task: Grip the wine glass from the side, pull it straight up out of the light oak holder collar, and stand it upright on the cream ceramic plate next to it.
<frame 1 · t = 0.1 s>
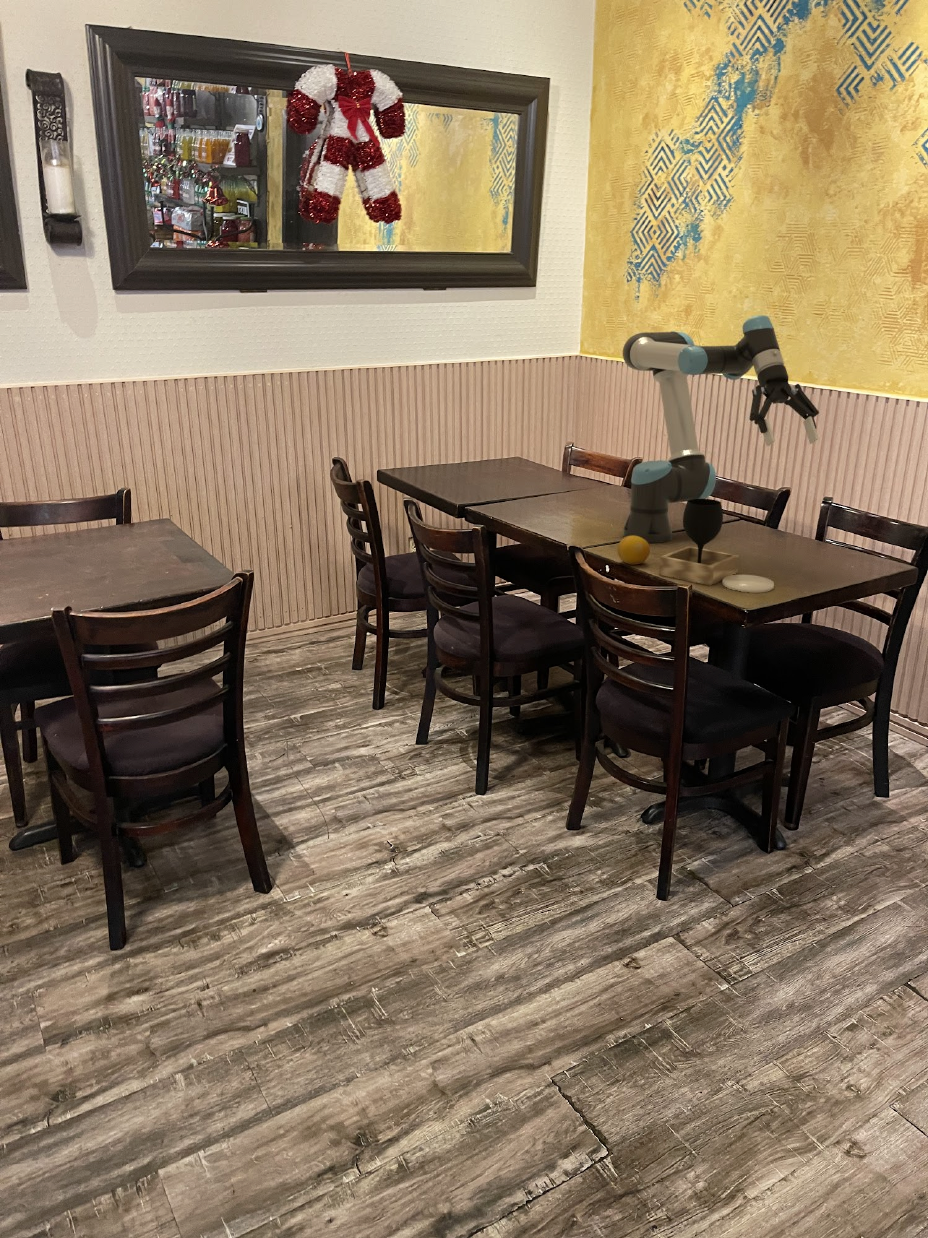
hand: (792, 442, 248), 36 cm above the table, tool tilted 35°, fingers open, 13 cm apart
plate: (747, 585, 249), on the table
wine glass: (698, 574, 260), resting in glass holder
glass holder: (698, 573, 260), on the table
fruit: (632, 564, 269), on the table
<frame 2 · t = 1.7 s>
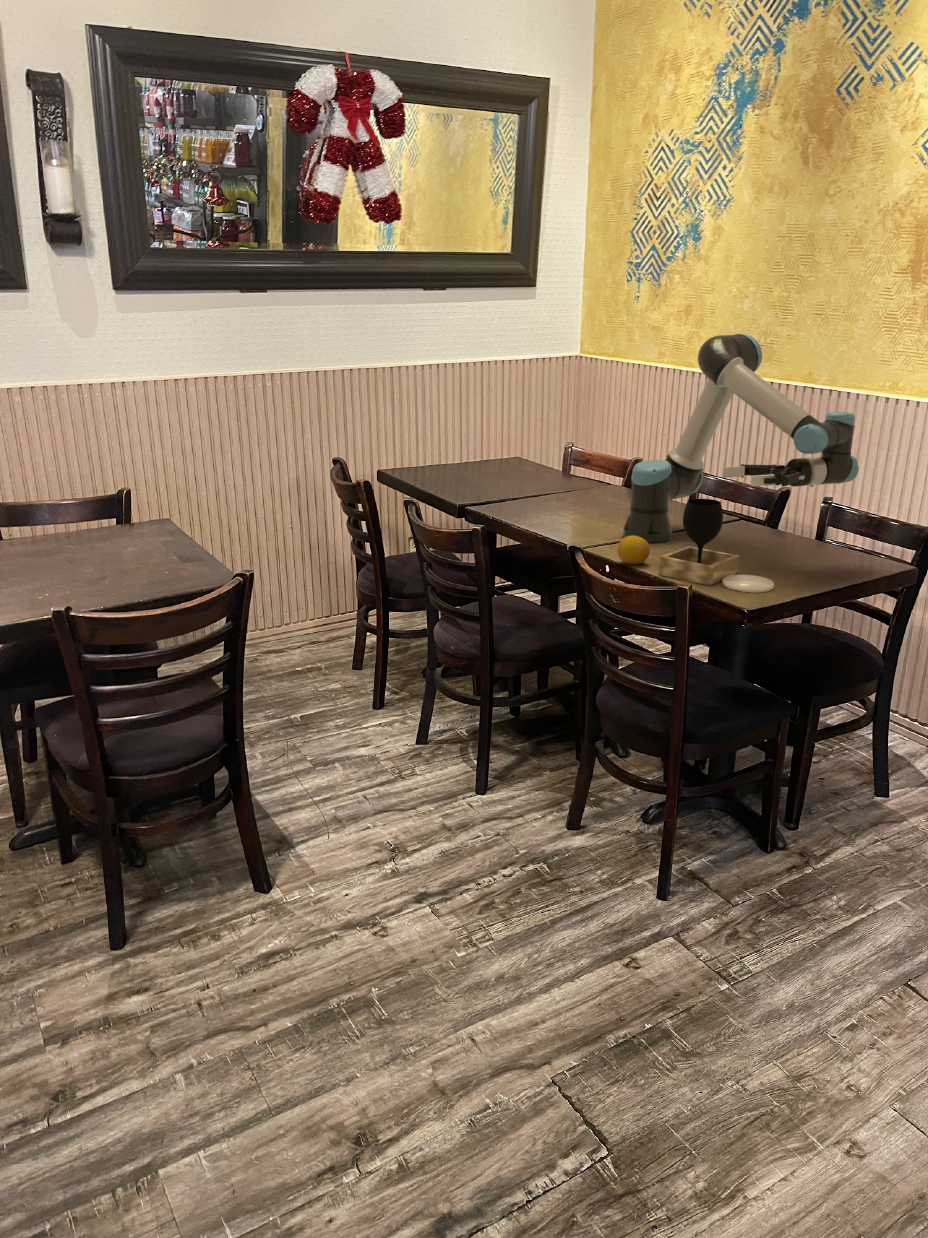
hand: (737, 476, 254), 26 cm above the table, tool horizontal, fingers open, 13 cm apart
nothing on the table moved.
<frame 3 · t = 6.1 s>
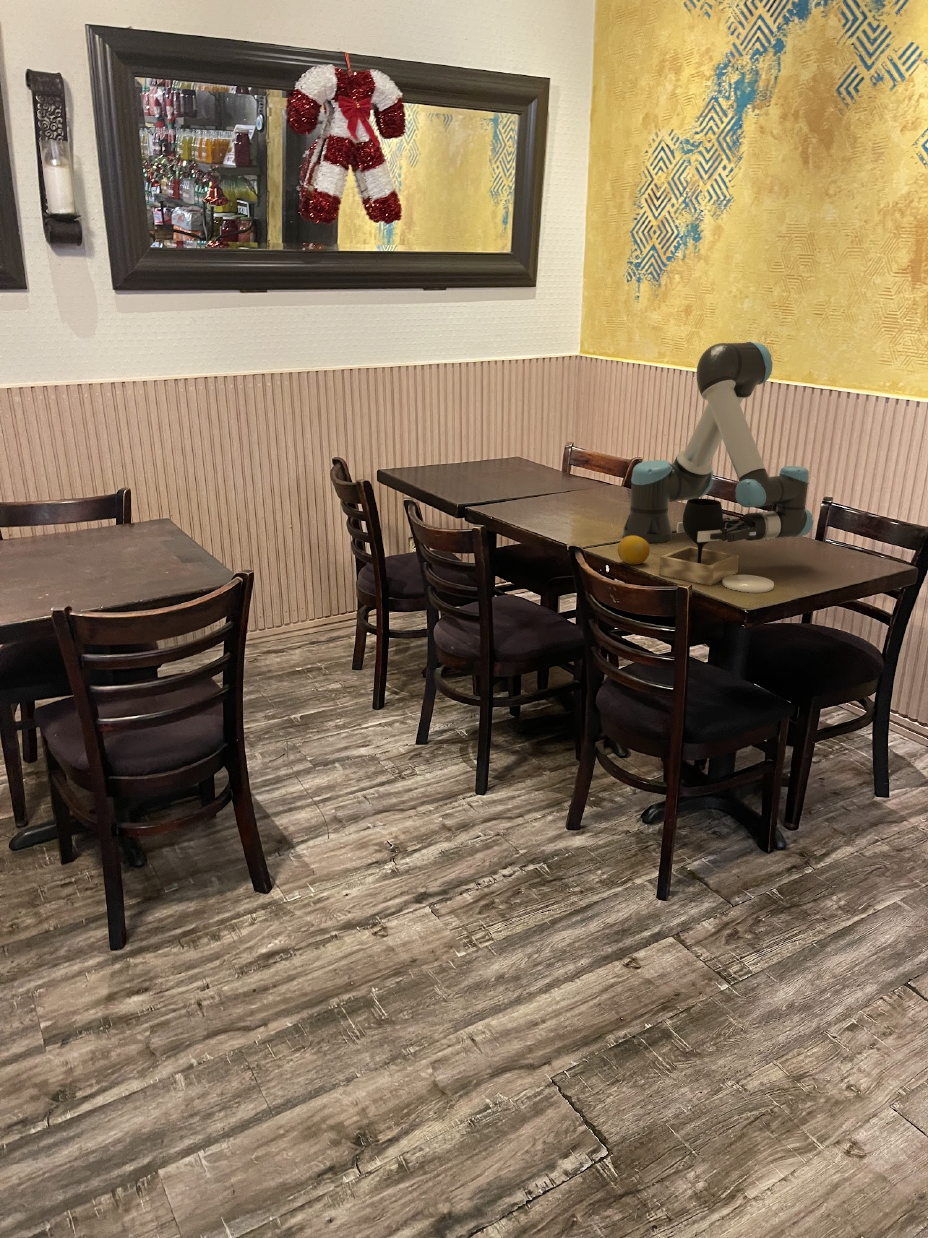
hand: (687, 532, 254), 12 cm above the table, tool horizontal, fingers closed on wine glass, 10 cm apart
wine glass: (698, 574, 260), resting in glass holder, touching gripper
everything else where it was.
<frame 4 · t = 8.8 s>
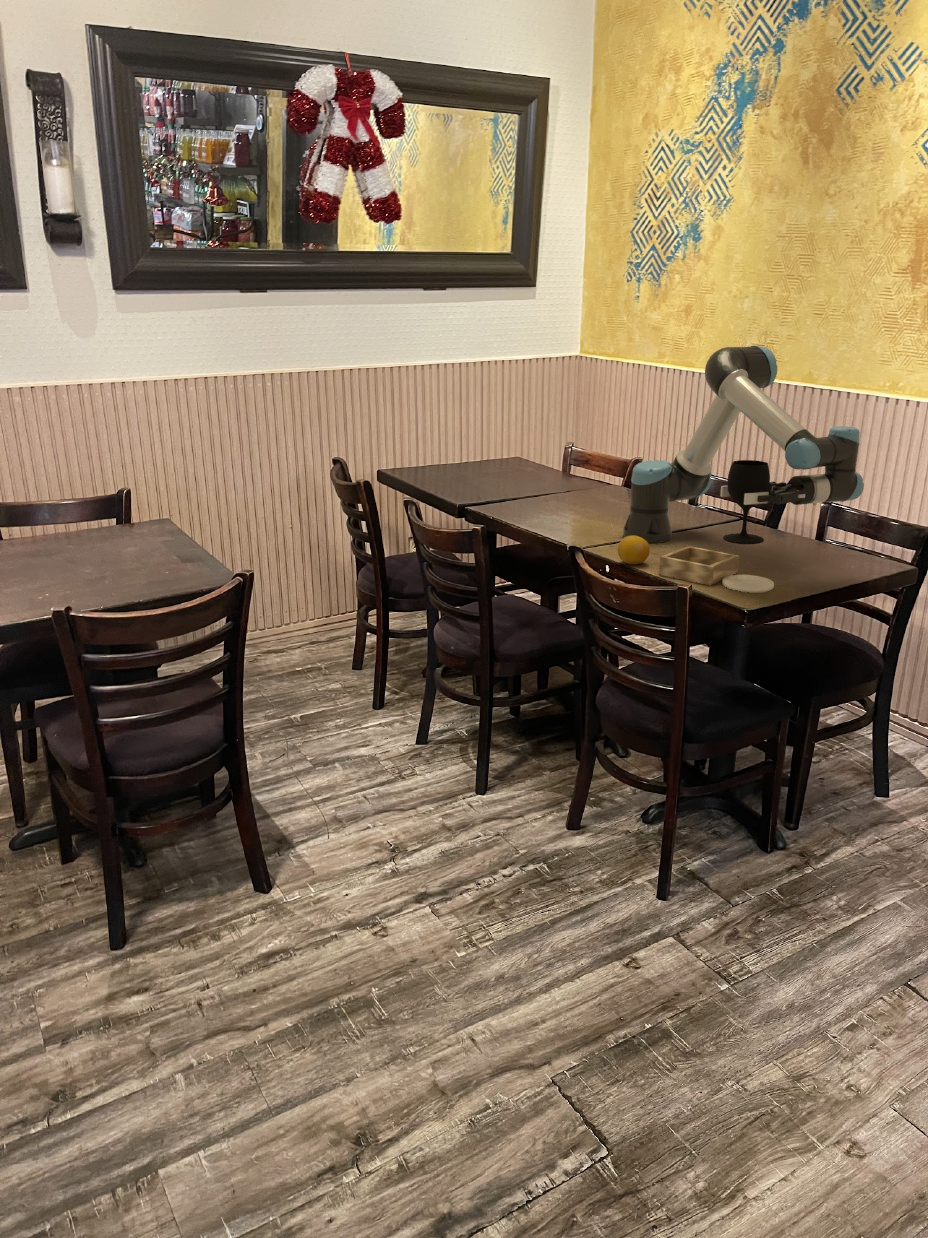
hand: (733, 495, 242), 24 cm above the table, tool horizontal, fingers closed on wine glass, 10 cm apart
wine glass: (743, 540, 247), point 12 cm above the table, touching gripper
everything else where it was.
when the fingers open (14 cm above the table, at t = 11.7 s): wine glass moves 3 cm, resting on plate.
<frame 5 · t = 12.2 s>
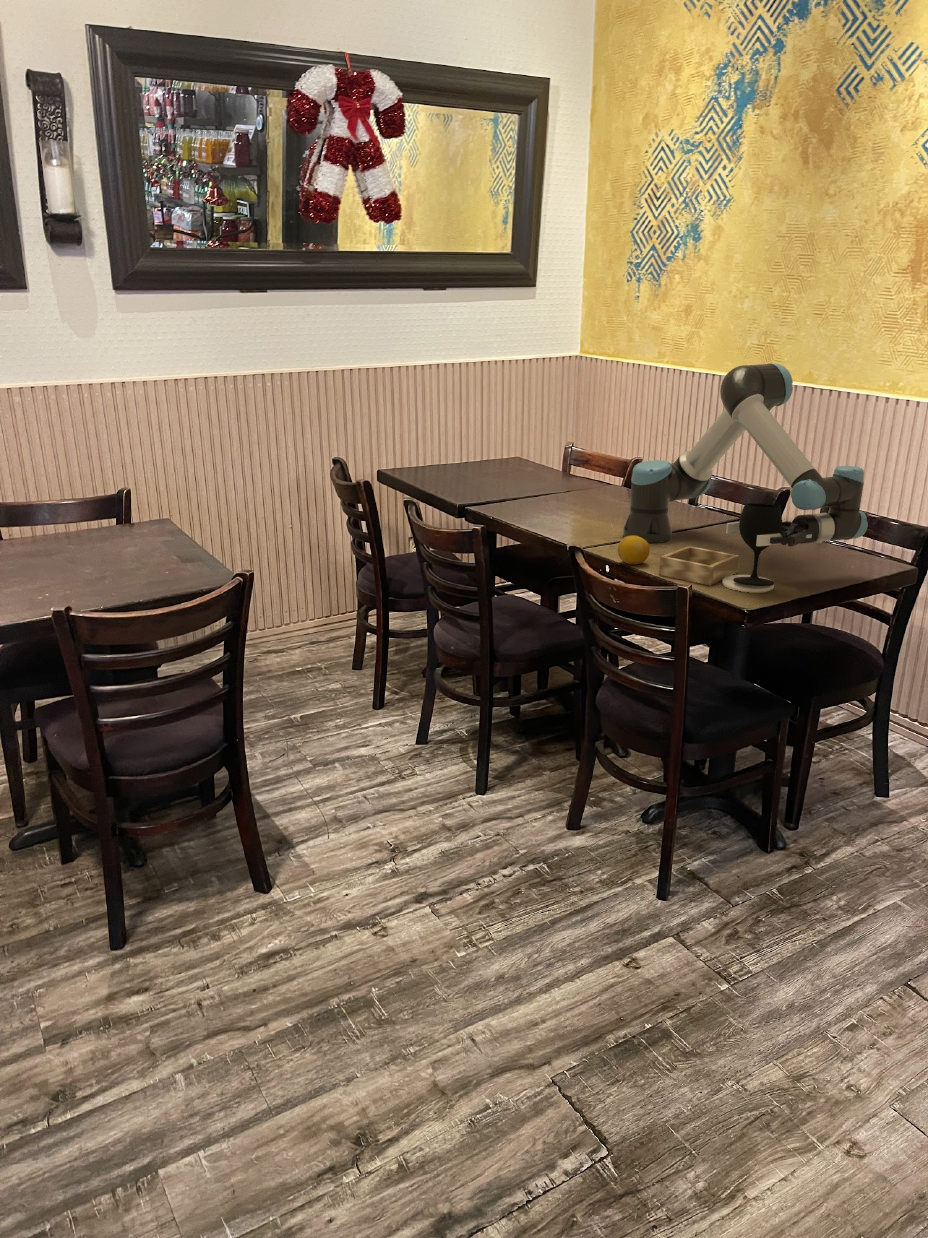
hand: (741, 534, 244), 14 cm above the table, tool horizontal, fingers open, 13 cm apart
wine glass: (753, 583, 247), point 1 cm above the table, touching gripper, plate
everything else where it was.
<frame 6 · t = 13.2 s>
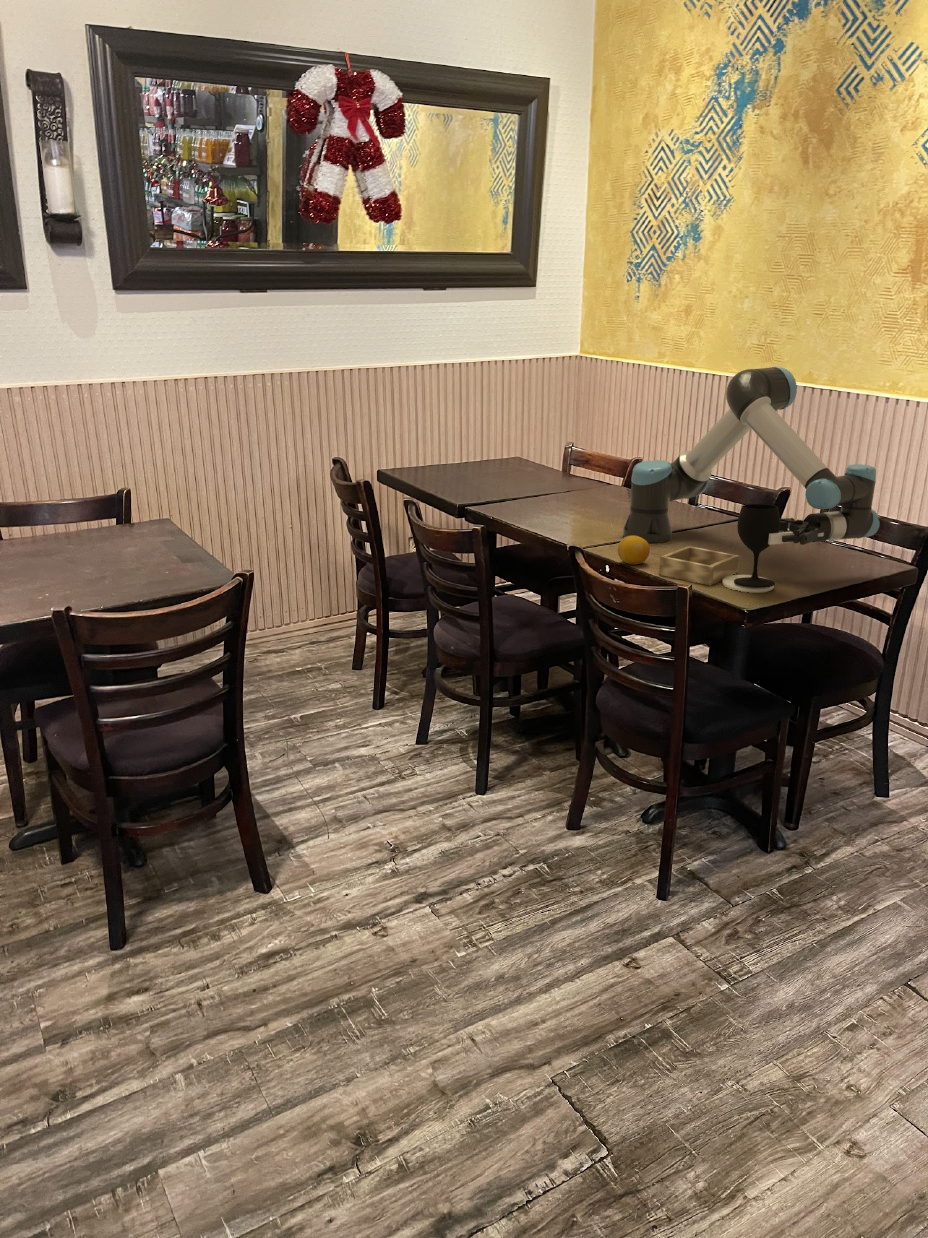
hand: (753, 532, 244), 14 cm above the table, tool horizontal, fingers open, 13 cm apart
wine glass: (754, 583, 247), point 1 cm above the table, touching gripper
everything else where it was.
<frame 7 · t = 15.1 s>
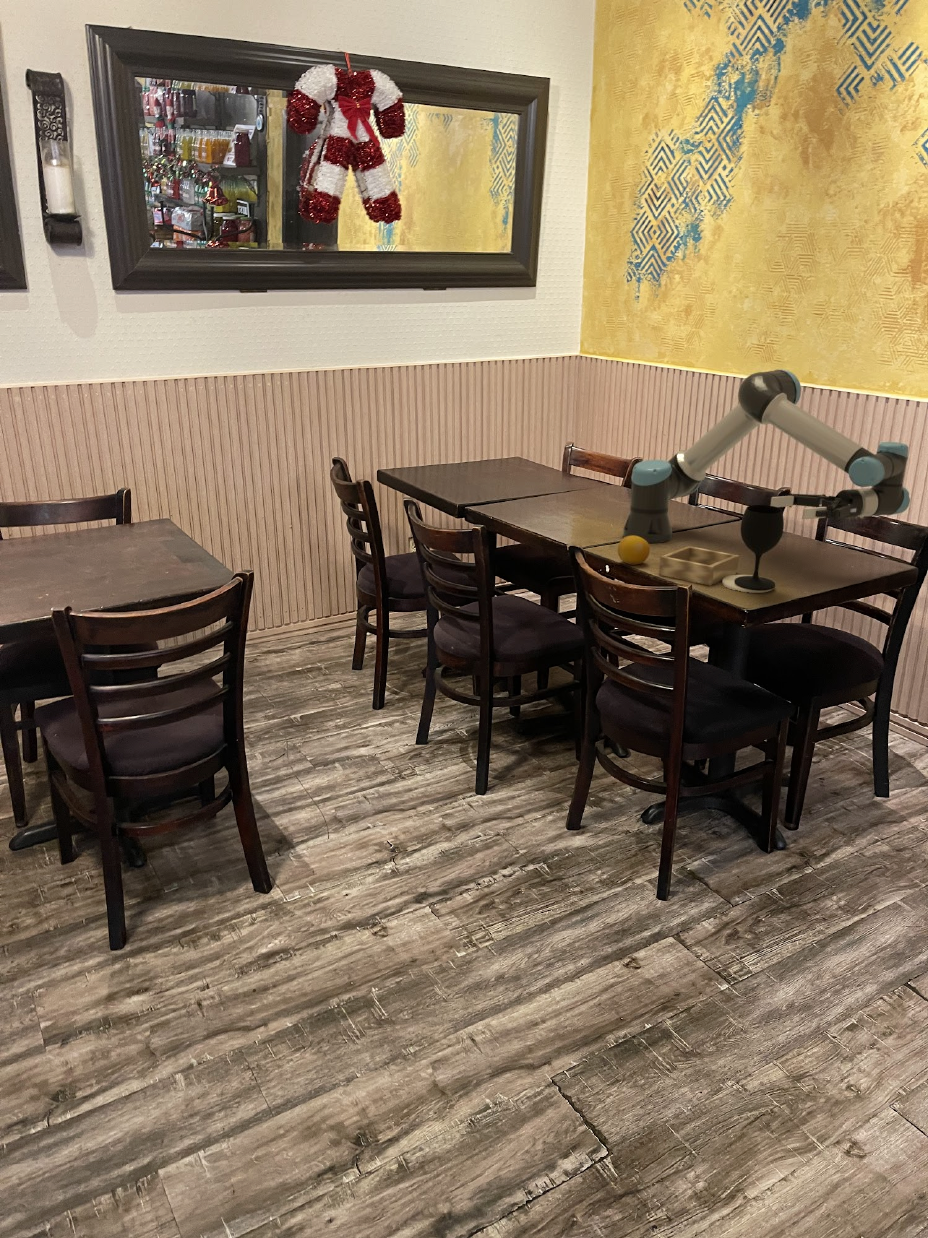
hand: (787, 507, 248), 20 cm above the table, tool horizontal, fingers open, 13 cm apart
wine glass: (754, 584, 247), point 1 cm above the table, touching plate
everything else where it was.
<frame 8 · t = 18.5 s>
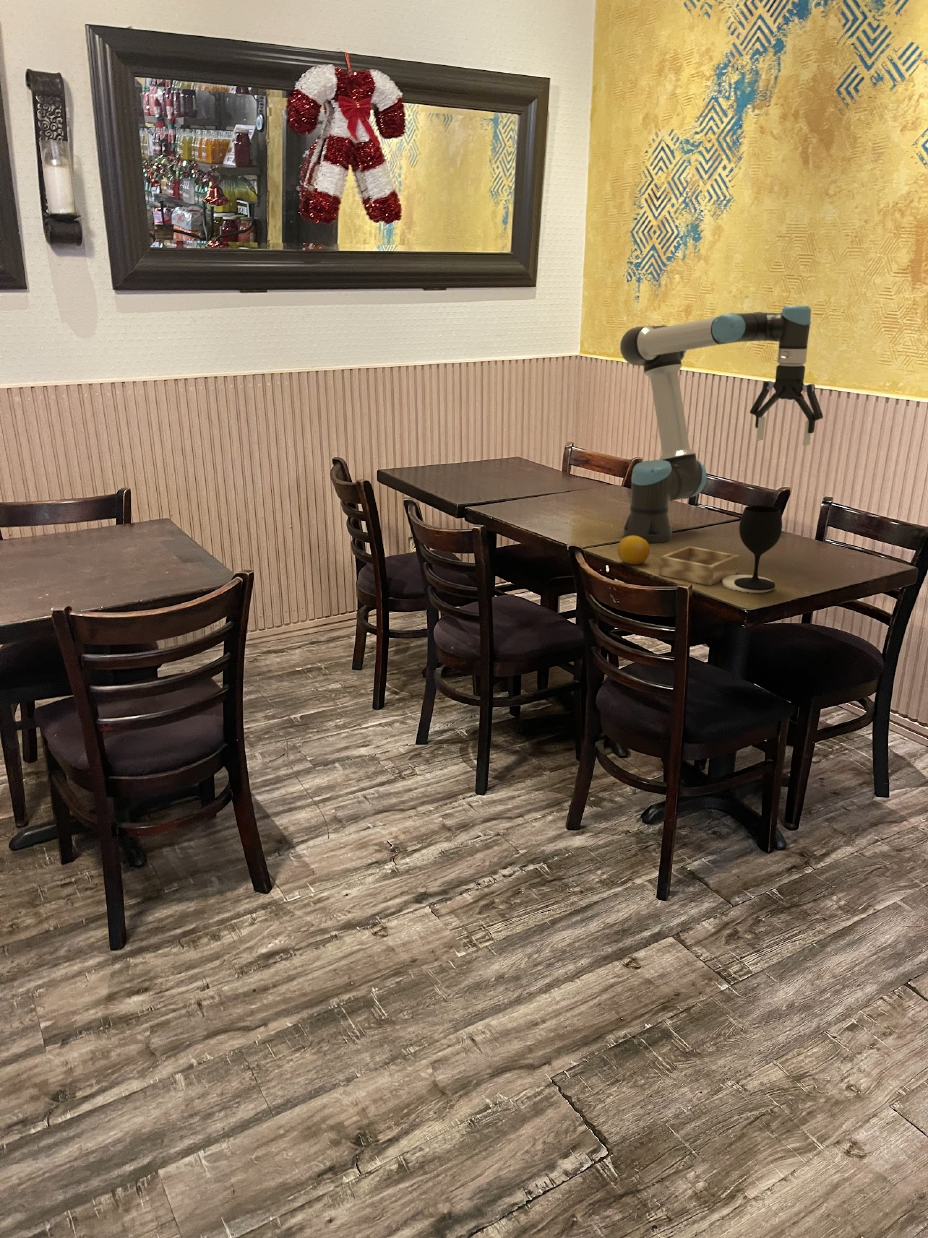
hand: (782, 442, 268), 33 cm above the table, tool pointing down, fingers open, 13 cm apart
at the end: wine glass inside the target area on the plate (2.7 cm from its centre), point 0.8 cm above the plate's base; wine glass tilted 0°; the gripper is holding nothing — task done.
